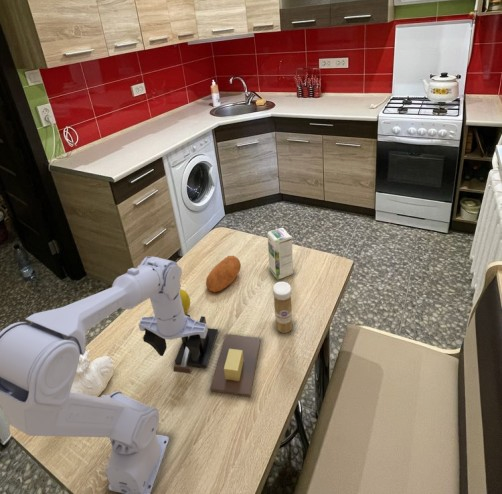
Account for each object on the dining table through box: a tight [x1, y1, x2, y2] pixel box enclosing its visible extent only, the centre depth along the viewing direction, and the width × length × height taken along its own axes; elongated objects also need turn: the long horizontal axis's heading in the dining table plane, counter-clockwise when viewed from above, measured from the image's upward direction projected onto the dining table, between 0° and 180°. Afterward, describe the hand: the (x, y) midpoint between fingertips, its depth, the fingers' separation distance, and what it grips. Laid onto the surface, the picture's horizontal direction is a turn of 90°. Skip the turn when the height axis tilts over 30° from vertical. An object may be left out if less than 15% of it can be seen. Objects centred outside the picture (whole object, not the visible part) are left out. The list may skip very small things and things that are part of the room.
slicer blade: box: [172, 337, 193, 375], centre depth 81 cm, size 11×4×2 cm, turn 168°
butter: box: [224, 349, 244, 381], centre depth 79 cm, size 5×3×4 cm, turn 169°
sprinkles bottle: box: [272, 281, 293, 334], centre depth 88 cm, size 5×5×14 cm
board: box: [209, 333, 261, 398], centre depth 82 cm, size 14×9×1 cm, turn 169°
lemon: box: [179, 289, 191, 314], centre depth 96 cm, size 6×6×8 cm
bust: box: [70, 349, 115, 397], centre depth 78 cm, size 12×8×11 cm
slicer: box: [174, 314, 219, 369], centre depth 85 cm, size 10×8×9 cm
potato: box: [205, 255, 242, 293], centre depth 106 cm, size 7×13×7 cm, turn 137°
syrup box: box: [266, 227, 294, 281], centre depth 106 cm, size 6×6×14 cm
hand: (179, 353), depth 76 cm, fingers open, 7 cm apart
